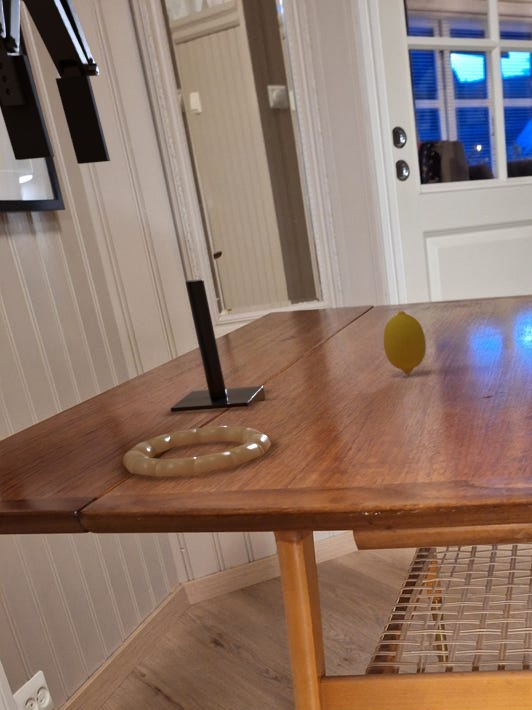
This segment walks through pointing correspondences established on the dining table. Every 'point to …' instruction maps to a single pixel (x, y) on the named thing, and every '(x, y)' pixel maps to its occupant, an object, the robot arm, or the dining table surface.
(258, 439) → the lying ring
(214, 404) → the black peg stand
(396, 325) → the lemon
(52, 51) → the robot arm
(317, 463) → the dining table surface
